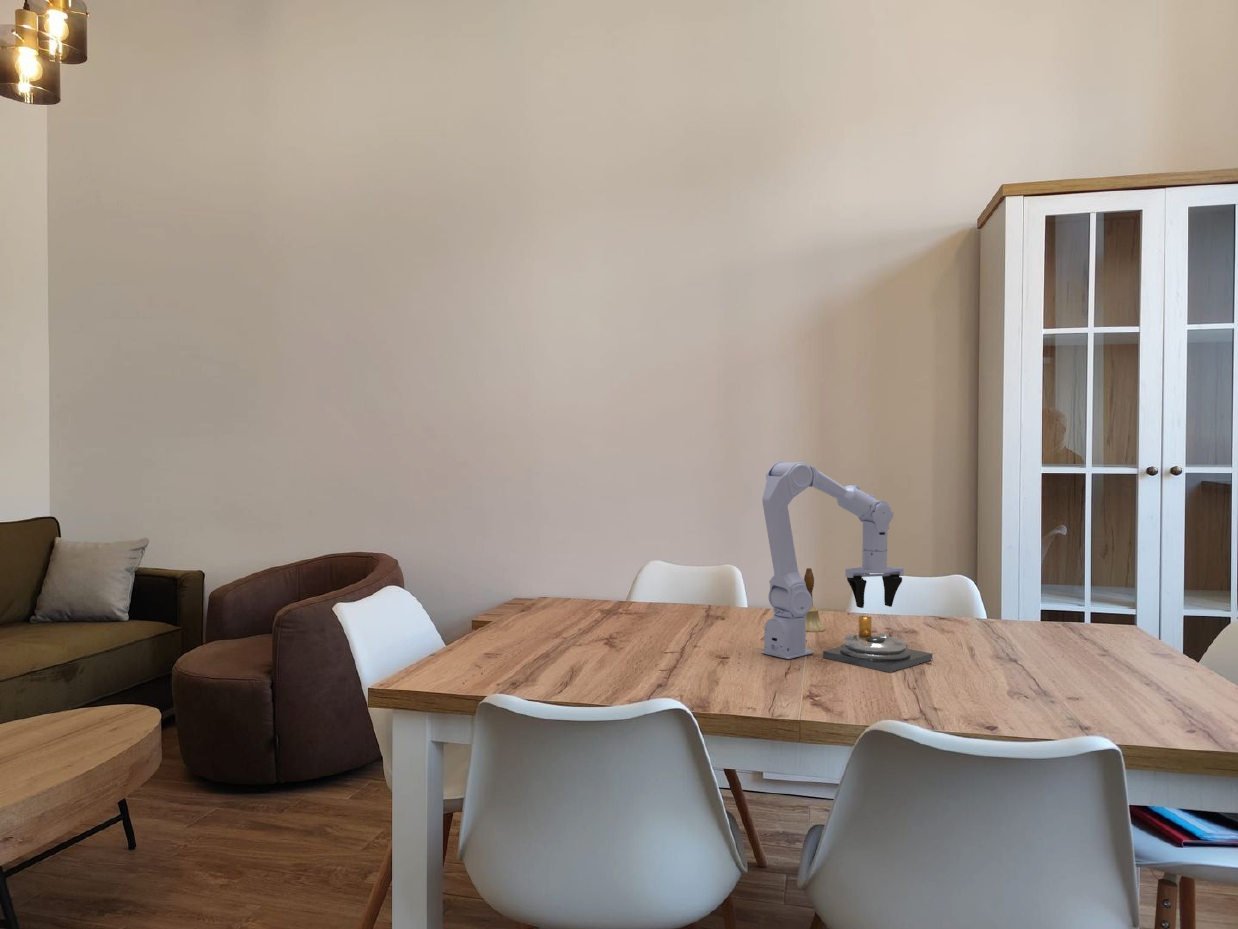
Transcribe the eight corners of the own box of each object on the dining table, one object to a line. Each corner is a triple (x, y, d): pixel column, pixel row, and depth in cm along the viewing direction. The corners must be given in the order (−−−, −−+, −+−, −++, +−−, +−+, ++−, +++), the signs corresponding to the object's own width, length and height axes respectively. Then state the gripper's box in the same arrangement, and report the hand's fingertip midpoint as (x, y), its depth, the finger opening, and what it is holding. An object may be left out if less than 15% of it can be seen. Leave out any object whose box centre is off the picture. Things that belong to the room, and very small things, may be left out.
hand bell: (817, 633, 217) (817, 571, 217) (787, 629, 222) (788, 568, 222) (830, 628, 223) (831, 568, 223) (801, 624, 228) (801, 565, 228)
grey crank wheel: (916, 653, 184) (917, 626, 184) (860, 655, 182) (860, 628, 182) (888, 639, 197) (888, 615, 197) (835, 641, 195) (835, 616, 195)
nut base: (890, 672, 178) (890, 660, 178) (823, 657, 191) (823, 645, 191) (932, 660, 189) (932, 648, 189) (866, 646, 202) (866, 635, 202)
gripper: (892, 547, 209) (891, 602, 209) (839, 548, 205) (838, 604, 205) (908, 550, 202) (908, 607, 202) (854, 552, 198) (853, 610, 198)
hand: (874, 606), depth 203 cm, fingers open, 7 cm apart
